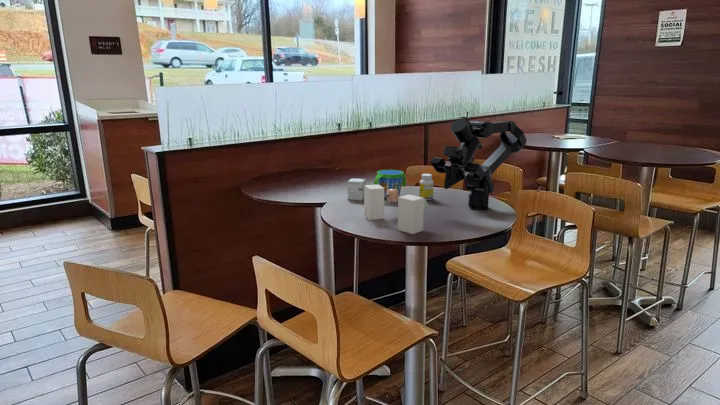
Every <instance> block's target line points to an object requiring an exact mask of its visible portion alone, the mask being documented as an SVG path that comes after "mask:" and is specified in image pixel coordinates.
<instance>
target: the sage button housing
mask: <svg viewBox="0 0 720 405" xmlns="http://www.w3.org/2000/svg"><path fill="white" fill-rule="evenodd" d="M424 213H425V212H424V198H423V197H419V196H418V195H413V194H405V195H402V196H399V197H398V201H397V230H398V231H400V232H404V233H407V234H410V235H414V234H416V233H417V234H418V233H420V232H423V231H424Z"/></svg>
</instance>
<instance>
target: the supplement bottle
mask: <svg viewBox="0 0 720 405" xmlns="http://www.w3.org/2000/svg"><path fill="white" fill-rule="evenodd" d="M432 178H433V175H432V174H431V173H422V174H421V179H420V181H419V196H418V197H423V198H424V199H425V200H426V201H431V200H433V199H434V180H432Z"/></svg>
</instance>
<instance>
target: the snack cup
mask: <svg viewBox="0 0 720 405" xmlns="http://www.w3.org/2000/svg"><path fill="white" fill-rule="evenodd" d="M377 184H378V185H380V186H382V187H383V188H384V194H386V193H387V190H388V189H397V190H398V194H399V197H401V196H400V195H401V189H402V187H406V186H407V177H406V174H405V173H404V171H402V170H396V169H380V170H378V171H376V176H375V179H374V181H373V185H377ZM385 199H386V200H387V198H385Z"/></svg>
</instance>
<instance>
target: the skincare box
mask: <svg viewBox="0 0 720 405" xmlns="http://www.w3.org/2000/svg"><path fill="white" fill-rule="evenodd" d="M364 185H367V179H366V178H350V179H349V180H347V200H352V201H363V200H364Z"/></svg>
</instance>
